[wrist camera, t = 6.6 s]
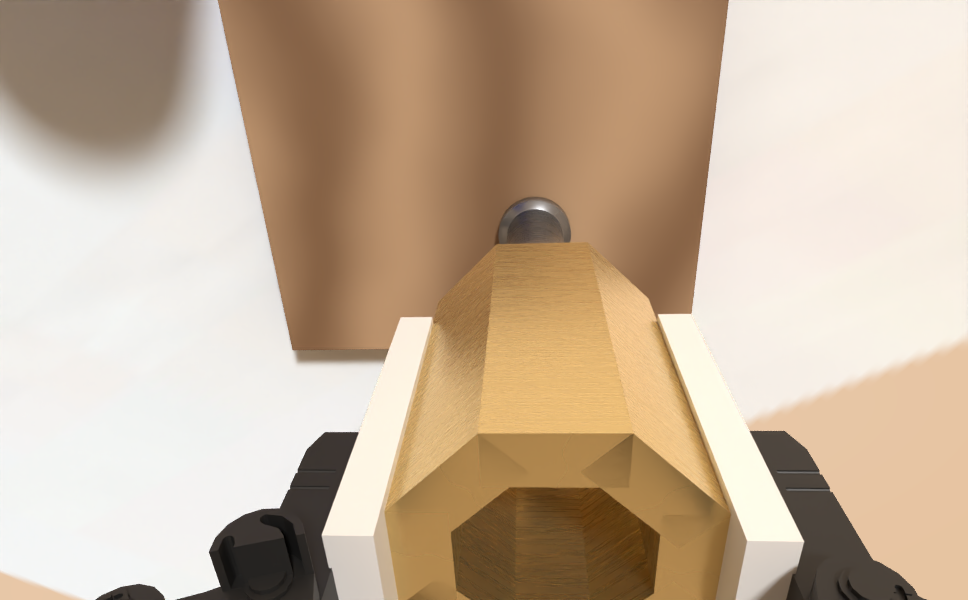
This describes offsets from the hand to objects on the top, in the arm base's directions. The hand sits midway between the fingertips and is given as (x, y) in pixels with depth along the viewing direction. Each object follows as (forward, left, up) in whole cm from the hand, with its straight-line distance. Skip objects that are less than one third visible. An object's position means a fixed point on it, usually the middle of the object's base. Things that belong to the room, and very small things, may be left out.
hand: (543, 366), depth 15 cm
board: (-2, +2, -10) cm, 11 cm away
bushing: (0, 0, -1) cm, 1 cm away
